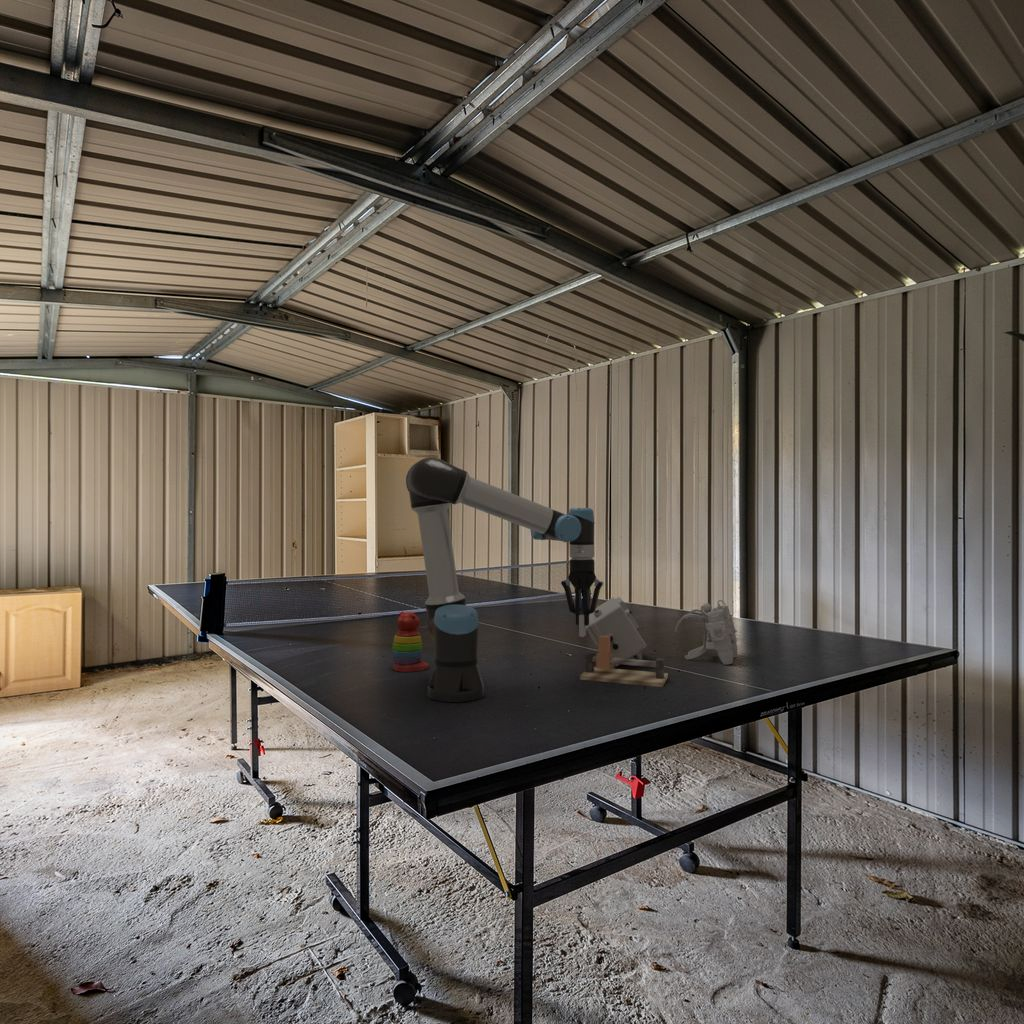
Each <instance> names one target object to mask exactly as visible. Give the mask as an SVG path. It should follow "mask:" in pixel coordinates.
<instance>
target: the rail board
mask: <svg viewBox="0 0 1024 1024" xmlns="http://www.w3.org/2000/svg"><path fill="white" fill-rule="evenodd" d="M584 657H585V659H584V660H585V661H584V663H585V664H584V668H585V669H584V671H583V672H582V673H581V674H580V675H579V681H580V680H582V681H592V682H603V683H613V684H623V685H624V684H625V685H635V686H643V687H644V686H645V687H655V688H656V687H657V688H663V687H664V685H665V684H666V681H667V679H668V678H669V673H668V672H665V658H663V657H661V658H660V657H658V658H656V659H655V660H645V659H641V660H634V659H621V658H610V663H612V664H620V665H627V666H639V667H650V668H655V671H646V670H633V669H621V668H613V669H612V668H610V669H603V668H596V666H595V663H596V655H595V653H594V652H586V653H585V654H584Z"/></svg>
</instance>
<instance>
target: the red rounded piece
mask: <svg viewBox="0 0 1024 1024" xmlns="http://www.w3.org/2000/svg"><path fill="white" fill-rule="evenodd" d="M420 624H421V620H420V618H419V616H417V614H415V613H414V612H411V611H410V612H409V611H407V612H405V611H401V612H399V616H398V617H397V627H398V630H397V631H396V632H395V635H394V636H393V642H392V647H391V649H392V656H393V662H394V663H393V666H392V669H393V670H394V671H396V672H401V673H402V672H404V673H409V672H411V673H412V672H419V671H425V669H426V670H428V669H429V667H430V665H429V663H427V662H425V661H422V660H421V658H422V654H423V642H422V636H421V634H420V633H421V632H419V630H417V629H418V628H419V627H420Z"/></svg>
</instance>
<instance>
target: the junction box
mask: <svg viewBox="0 0 1024 1024" xmlns="http://www.w3.org/2000/svg"><path fill="white" fill-rule="evenodd" d="M639 628H640V625H639V623H638V621H637V620H636V619H635V617H634V616H633V612H632V610H630V609H629V608H628V606H627V605H626V603H625V601H623V599H622V598H621V597H620V596H618V597H616V598H615V597H612V598H610V599H608V600H607V601H605V602H603V603H602V604H600V605H599V606H596V609H595V612H593V613H591V614H589V625H588V626H586V632H588V635H589V637H590V638H591V640H592V641H593V642H594V643H595V645H596V647H597V648H598V637H599V636H600V635H606V636H610V652H612V658H621V659H634V660H643V653H642V652H641V651H642V650H644V649H645V648H647V643H646V642H645V641H644V639H643V638H642V636H641V634H640V633H639V631H638V629H639ZM634 656H636V657H634ZM620 665H621V664H612V667H611V669H616V667H618V666H620Z"/></svg>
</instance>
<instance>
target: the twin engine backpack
mask: <svg viewBox="0 0 1024 1024" xmlns="http://www.w3.org/2000/svg"><path fill="white" fill-rule="evenodd" d="M720 602H722V603H723V605H721V604H720ZM696 612H697V613H701V615H699V614H696ZM730 612H731V611H730V608H729V606H728V605H726V603H725V602H724V600H723V599H719V600H717V607H714V608H712V605H711V604H710V603H708V602H705V603H703V604H702V605H701V606H700V609H696V608H695V609H692V610H690V611H689V612H688V613H687V614H684V615H683V616H682V617H681V618H680V619H678V621H677V624H676V626H675V629H674V630H675V631H674V632H675V633H677V630H678V626H679V625H680V624H681V622H682V621H683V620H684V619H685V620H688V618H693V619H697V620H699V621H700V622H701V623H702V627H703V645H702V646H698V647H696V648H693V649H691V650H689V651H688V652H687V654H685V655H684V659H685V660H691V659H695V658H698V657H700V656H702V655H703V654H704V653H706V652H708V650H715V651H717V654H718V658H719V659H720V662H721V663H722V664H723V665H724V666H725V665H731V664H733V663H734V658H736V657H738V645H737V642H738V639H737V635H736V633H737V632H738V631H737V630H736V627H735V623H734V620H733V614H731V613H730Z"/></svg>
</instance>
